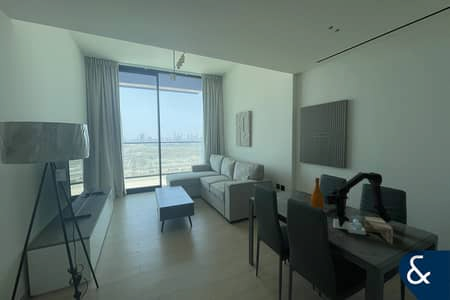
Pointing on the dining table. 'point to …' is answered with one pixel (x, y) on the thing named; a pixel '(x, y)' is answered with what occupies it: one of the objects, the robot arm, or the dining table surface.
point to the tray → (350, 226)
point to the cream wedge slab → (379, 228)
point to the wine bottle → (317, 196)
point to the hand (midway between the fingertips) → (340, 225)
